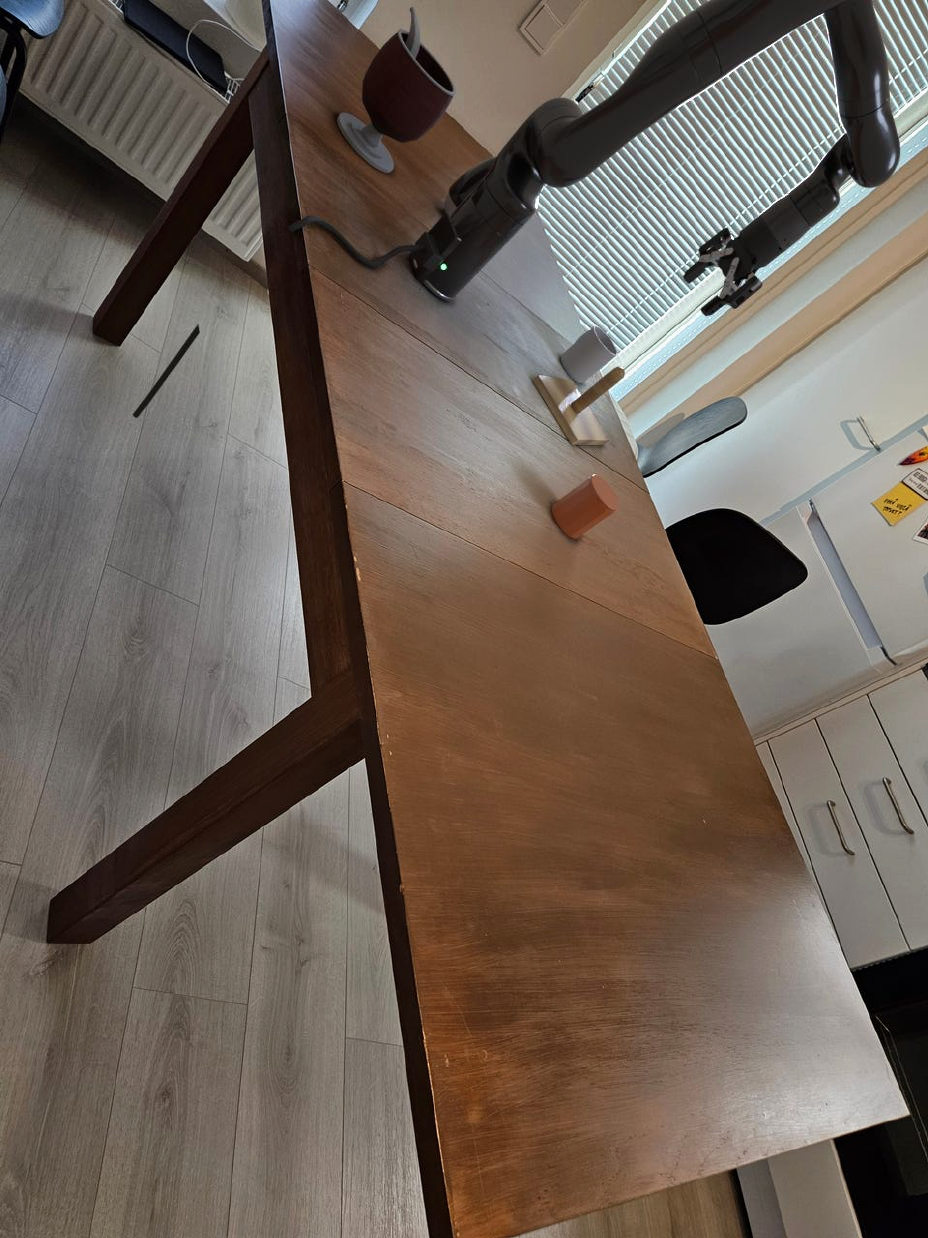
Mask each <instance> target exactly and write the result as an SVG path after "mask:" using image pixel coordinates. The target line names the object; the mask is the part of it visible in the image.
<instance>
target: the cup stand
mask: <svg viewBox="0 0 928 1238" xmlns="http://www.w3.org/2000/svg"><path fill="white" fill-rule="evenodd" d="M625 375H626V372H625V369H624V367H622V366H620V365H619V366H615V367H613V368H612V369H611V370H610V371H609V372H607V373H606V374H605V375H604V376H603V377H601V378H600V379H599V380H597V381H596V382H595V383H594V384H593V385H592V386H590V387H589V388H588V389H587V390H585V391H584V392H583V393H582V394H581V392H580V391H579V389H578V387H577V386H576V385H575V382H574V380H573V379H565V378H561V377H554V376H547V375H541V374H538V375H537V376H536V377H534V378H533V379H532V382H533V383H534V385H535V387H536V388H537V390H538V392H539V393H540V396H541V397H542V398H543V400H544V402H545V403H546V405H547V407H548V409H549V410H550V412H551V413H552V415H553V417H554V418H555V420H556V421H557V423H558V425H559V426H560V428H561V430H562V431H563V433H564V435H565V436H566V438H567V440H568V441H569V443H570V445H571V446H573V445H575V446H578V445H579V446H604V445H605V444H606V443H608V442H610V439H609V438H608V436H607V435H606V433H605V432H604V430H603V428H602V427H601V425H600V423H599V422H598V420H597V419H596V417H595V415H594V413H593V412H592V410H591V409H590V407H589V406H591V405H593V403H594V402H596V401H597V400H598V399H599V398H601V397H602V396H603V395H604V394H605V393H607V392H608V391H609V390H611V389H612V388H613V387H614V386H615V385H616V384H619V383H620V381H622V380H623V379H624V378H625Z"/></svg>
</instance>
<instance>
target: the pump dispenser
mask: <svg viewBox="0 0 928 1238" xmlns="http://www.w3.org/2000/svg"><path fill="white" fill-rule="evenodd" d="M496 157H497V155H496V156H492V157H490V158H488V159H486V160H483V161H481V162H479V163H478V164H476V165H474V166H473V167H471V168H470V169H468V170H467V171H465V172H464V173H463V174H462V175H461V176H460V177H458V178H457V179H456V180H455V181H453V182H452V184H451V185H450V186H449V188H448V192H447V194H446V196H445V199H444V205H443V207H444V214H445V213H446V212H449V213H450V214H452V213H453V212H454V211H455V210H456V209H457V207H458V206H459V205H460V204H461V203H462V202H463V201H464V200H465V199H466V197H467V196H468V195H469V194H470V193H471V192H472V191H473V190H474V189H475V187H476V186H477V185H478V184H479V183H480V182H481V181H482V180H483V179H484V177H485V176H486V175H487V174H488V173H489V171H490V170H491V169H492V167H493V164H494V162H495V159H496Z"/></svg>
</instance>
